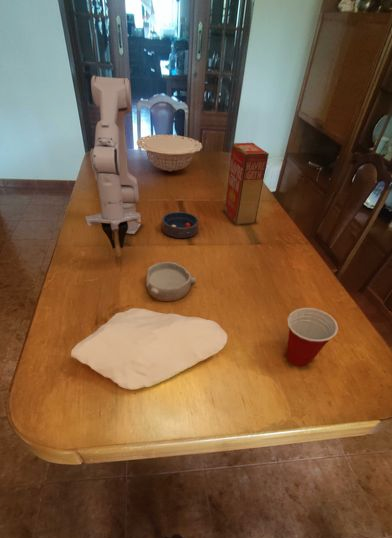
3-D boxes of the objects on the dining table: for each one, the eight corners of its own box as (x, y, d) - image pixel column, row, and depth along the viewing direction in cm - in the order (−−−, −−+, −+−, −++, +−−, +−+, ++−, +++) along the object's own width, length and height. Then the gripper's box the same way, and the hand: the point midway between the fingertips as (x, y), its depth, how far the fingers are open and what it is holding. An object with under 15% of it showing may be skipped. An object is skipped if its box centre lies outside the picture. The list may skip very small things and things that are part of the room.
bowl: (157, 235, 116) (157, 224, 113) (168, 220, 125) (168, 209, 122) (193, 242, 114) (194, 231, 111) (201, 225, 123) (202, 215, 120)
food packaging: (222, 210, 134) (231, 142, 116) (243, 209, 136) (254, 141, 118) (235, 225, 125) (246, 153, 107) (256, 223, 128) (271, 153, 110)
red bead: (184, 229, 119) (184, 223, 117) (185, 226, 121) (185, 221, 119) (189, 230, 119) (190, 224, 117) (191, 227, 120) (191, 222, 119)
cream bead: (170, 231, 117) (170, 225, 116) (171, 228, 119) (171, 223, 117) (175, 232, 117) (175, 226, 115) (177, 229, 118) (177, 224, 117)
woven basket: (174, 158, 177) (174, 131, 168) (213, 175, 162) (216, 147, 153) (125, 168, 161) (122, 139, 152) (164, 188, 146) (164, 157, 137)
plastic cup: (270, 342, 81) (282, 306, 73) (310, 342, 83) (327, 306, 74) (281, 376, 74) (296, 340, 65) (325, 374, 75) (346, 339, 66)
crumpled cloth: (75, 323, 80) (66, 298, 72) (208, 307, 87) (213, 282, 79) (79, 408, 67) (69, 389, 60) (234, 381, 74) (242, 360, 67)
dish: (155, 308, 88) (154, 293, 84) (137, 281, 96) (136, 266, 92) (201, 295, 93) (202, 281, 89) (180, 270, 101) (181, 256, 97)
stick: (114, 256, 95) (111, 231, 89) (116, 253, 96) (113, 228, 90) (120, 257, 94) (117, 232, 89) (122, 254, 96) (119, 229, 90)
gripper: (83, 207, 79) (93, 256, 89) (141, 203, 82) (144, 251, 92) (81, 195, 83) (90, 243, 93) (136, 193, 87) (140, 239, 97)
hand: (117, 246), depth 93 cm, fingers closed on stick, 2 cm apart
